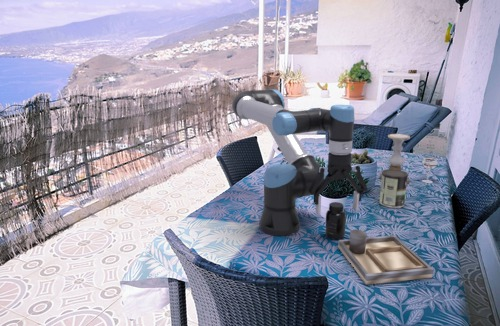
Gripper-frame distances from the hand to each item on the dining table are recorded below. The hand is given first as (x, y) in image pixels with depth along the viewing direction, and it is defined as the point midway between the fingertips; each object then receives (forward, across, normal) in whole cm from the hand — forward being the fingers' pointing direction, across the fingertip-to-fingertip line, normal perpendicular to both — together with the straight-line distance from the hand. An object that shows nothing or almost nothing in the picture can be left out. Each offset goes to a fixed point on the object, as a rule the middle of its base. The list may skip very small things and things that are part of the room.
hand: (336, 211), depth 117 cm
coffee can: (+10, +35, +23) cm, 43 cm away
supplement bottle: (+10, 0, 0) cm, 10 cm away
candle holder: (+10, +52, +50) cm, 73 cm away
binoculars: (+9, +3, +76) cm, 77 cm away
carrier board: (+10, +8, -18) cm, 22 cm away
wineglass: (+10, +68, +46) cm, 83 cm away
